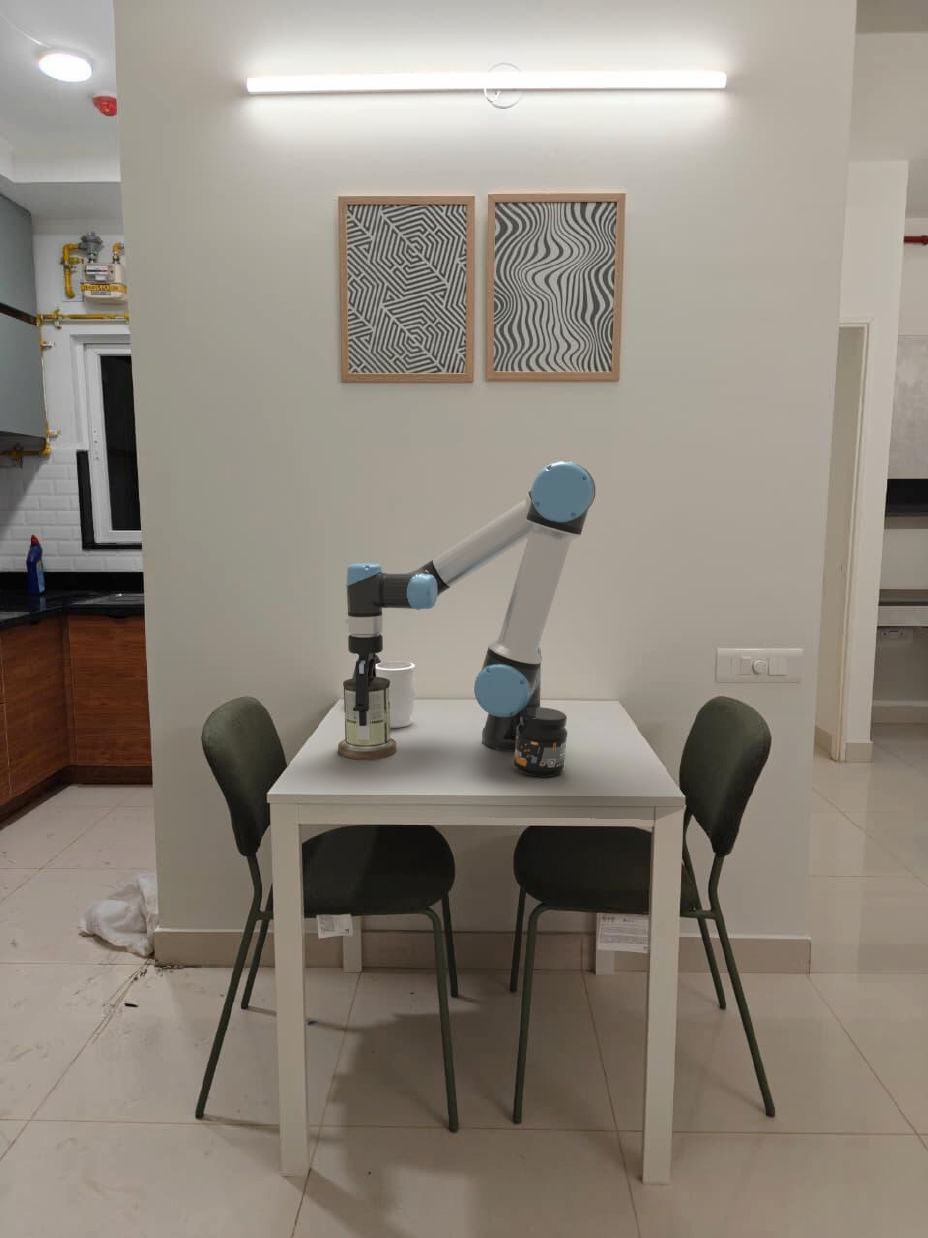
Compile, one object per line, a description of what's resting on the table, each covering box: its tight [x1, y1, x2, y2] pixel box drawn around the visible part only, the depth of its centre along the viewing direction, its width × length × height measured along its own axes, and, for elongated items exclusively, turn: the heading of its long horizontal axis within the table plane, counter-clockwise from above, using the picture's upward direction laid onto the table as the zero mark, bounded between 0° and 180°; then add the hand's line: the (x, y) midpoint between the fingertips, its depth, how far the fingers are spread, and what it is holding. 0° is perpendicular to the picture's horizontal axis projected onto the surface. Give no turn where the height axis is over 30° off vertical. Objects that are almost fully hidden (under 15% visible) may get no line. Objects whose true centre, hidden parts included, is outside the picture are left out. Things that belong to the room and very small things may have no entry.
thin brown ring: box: [337, 737, 398, 761], centre depth 183 cm, size 13×13×2 cm
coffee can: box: [342, 677, 391, 750], centre depth 182 cm, size 10×10×14 cm
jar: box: [376, 660, 416, 729], centre depth 203 cm, size 11×10×15 cm
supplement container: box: [513, 706, 569, 778], centre depth 168 cm, size 10×10×12 cm
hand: (367, 732), depth 183 cm, fingers open, 10 cm apart
